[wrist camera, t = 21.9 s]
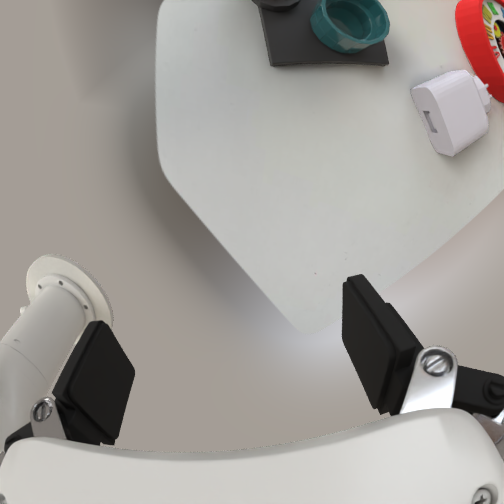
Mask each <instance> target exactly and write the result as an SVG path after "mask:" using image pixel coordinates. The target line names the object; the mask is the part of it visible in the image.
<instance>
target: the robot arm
mask: <svg viewBox="0 0 504 504" xmlns="http://www.w3.org/2000/svg"><path fill="white" fill-rule="evenodd" d="M20 314H21V316H20V317H19V318H18V319H17V321H16V322H15V323H14V324H13V325H12V327H11V328H10V329H9V331H8V332H7V333H6V334H5V336H4V337H3V338H2V340H1V341H0V504H504V377H503V376H501V375H499V374H495V373H490V372H485V371H481V370H477V369H472V368H468V367H464V366H459V365H458V362H457V358H456V356H455V355H454V354H453V352H452V351H451V350H449V349H447V348H445V347H442V346H429V347H427V348H425V349H424V348H423V346H422V345H421V343H420V342H419V341H418V339H417V338H416V336H415V335H414V334H413V332H412V331H411V330H410V329H409V327H408V326H407V324H406V323H405V322H404V320H403V319H402V318H401V316H400V315H399V314H398V313H397V311H396V310H395V309H394V307H393V306H392V305H391V304H390V303H385V302H384V301H383V299H382V298H381V297H380V295H379V294H378V293H377V292H376V290H375V289H374V288H373V286H372V285H371V284H370V283H369V281H368V280H367V279H366V278H365V276H364V275H363V274H360V275H355V276H351V277H348V278H347V282H344V283H343V310H342V340H343V343H344V346H345V348H346V350H347V352H348V354H349V356H350V358H351V361H352V363H353V365H354V367H355V369H356V371H357V374H358V376H359V378H360V381H361V383H362V385H363V387H364V390H365V392H366V394H367V396H368V399H369V401H370V403H371V405H372V407H373V409H376V408H378V411H379V413H380V415H381V414H384V413H387V412H389V413H390V415H391V417H388V418H384V419H381V420H378V421H375V422H371V423H367V424H364V425H361V426H358V427H354V428H351V429H347V430H344V431H340V432H336V433H332V434H328V435H324V436H319V437H315V438H311V439H306V440H301V441H296V442H291V443H285V444H279V445H273V446H266V447H259V448H251V449H241V450H230V451H216V452H153V451H138V450H128V449H119V448H111V447H103V446H100V442H102V443H103V444H107V445H114V443H115V439H117V438H118V436H119V432H120V428H121V424H122V420H123V416H124V412H125V409H126V405H127V401H128V398H129V394H130V391H131V387H132V384H133V380H134V377H135V370H134V367H133V366H132V364H131V362H130V361H129V359H128V358H127V356H126V354H125V353H124V351H123V349H122V348H121V346H120V344H119V343H118V341H117V339H116V337H115V336H114V334H113V332H112V330H111V329H110V327H109V325H108V324H107V323H105V322H104V321H103V320H98V321H96V317H95V312H94V308H93V306H92V304H91V302H90V300H89V298H88V297H87V295H86V294H85V293H84V292H83V290H82V289H81V288H80V287H79V286H78V285H77V284H75V283H74V282H73V281H71V280H70V279H68V278H66V277H64V276H61V275H58V274H47V275H45V276H43V277H42V278H41V279H40V280H39V281H38V283H37V285H36V288H35V299H34V300H33V301H32V302H31V304H30V305H29V306H26V307H21V308H20ZM77 338H80V339H79V341H78V342H77V344H76V346H75V348H74V350H73V352H72V353H71V355H70V357H69V359H68V361H67V363H66V365H65V367H64V369H63V371H62V373H61V375H60V377H59V379H58V381H57V383H56V385H55V387H54V389H53V391H52V394H53V395H54V396H55V397H56V399H55V401H54V400H53V399H52V398H50V397H46V395H47V393H48V391H49V389H50V387H51V385H52V383H53V381H54V379H55V377H56V375H57V373H58V372H59V370H60V368H61V366H62V364H63V362H64V360H65V359H66V357H67V355H68V353H69V351H70V349H71V348H72V346H73V344H74V343H75V341H76V339H77Z"/></svg>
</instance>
